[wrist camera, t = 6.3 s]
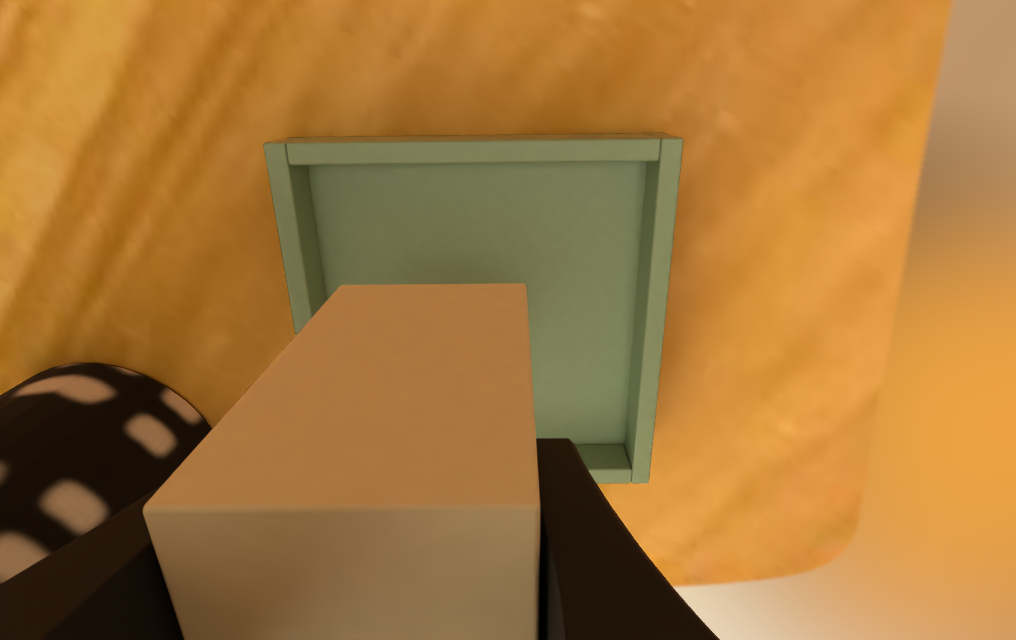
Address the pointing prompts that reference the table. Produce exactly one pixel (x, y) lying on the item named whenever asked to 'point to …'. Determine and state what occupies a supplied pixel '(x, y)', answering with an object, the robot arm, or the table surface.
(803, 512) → the table surface
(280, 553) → the block
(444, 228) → the tray
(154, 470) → the white-spotted black cylinder
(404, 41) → the table surface
